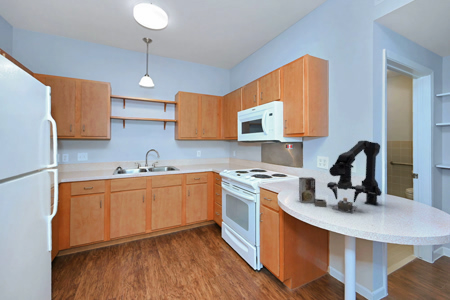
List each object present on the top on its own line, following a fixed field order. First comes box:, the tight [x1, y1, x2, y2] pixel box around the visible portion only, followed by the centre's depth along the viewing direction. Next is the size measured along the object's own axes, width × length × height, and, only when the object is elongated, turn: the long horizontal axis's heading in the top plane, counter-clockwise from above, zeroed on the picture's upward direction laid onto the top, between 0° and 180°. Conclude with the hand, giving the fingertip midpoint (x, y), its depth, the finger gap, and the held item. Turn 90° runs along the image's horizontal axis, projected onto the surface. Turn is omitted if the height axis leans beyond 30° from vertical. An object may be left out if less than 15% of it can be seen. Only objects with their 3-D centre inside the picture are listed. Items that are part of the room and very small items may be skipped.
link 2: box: [337, 200, 354, 210], centre depth 116 cm, size 6×6×3 cm
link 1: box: [313, 198, 328, 208], centre depth 122 cm, size 6×6×3 cm
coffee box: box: [298, 176, 316, 204], centre depth 130 cm, size 9×6×16 cm
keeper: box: [332, 197, 358, 214], centre depth 116 cm, size 14×10×6 cm
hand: (345, 200), depth 116 cm, fingers open, 9 cm apart
